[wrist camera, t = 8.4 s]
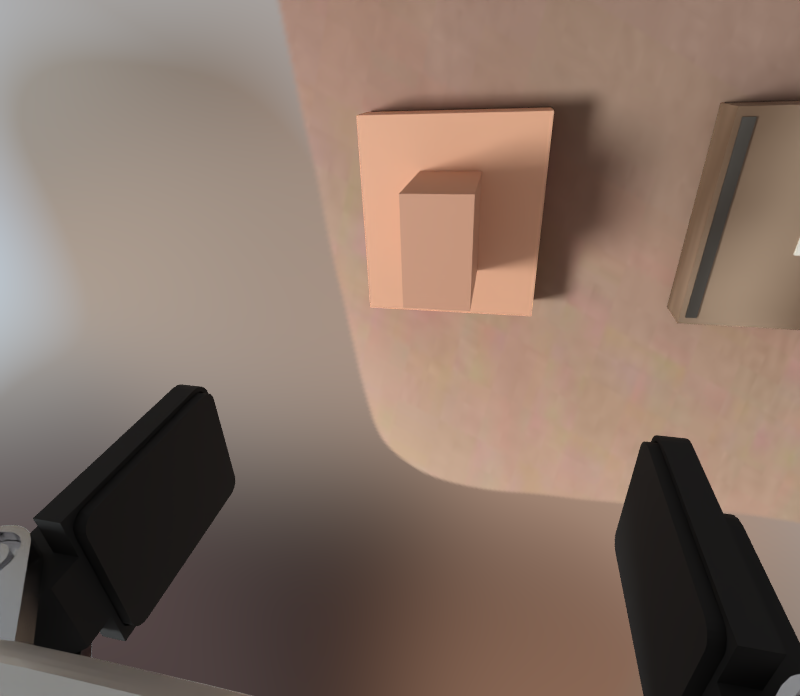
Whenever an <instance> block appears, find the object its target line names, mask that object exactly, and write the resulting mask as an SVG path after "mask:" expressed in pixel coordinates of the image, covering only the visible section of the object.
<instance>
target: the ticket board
mask: <svg viewBox="0 0 800 696" xmlns="http://www.w3.org/2000/svg"><path fill="white" fill-rule="evenodd" d="M667 307H668V309H669V311H670V312H671V314H672V315H673V317H674V319H675V320H676V322H677V323H680V324H698V325H716V326H735V327H753V328H771V329H790V330H800V101H780V102H740V103H721V104H720V108H719V112H718V116H717V119H716V123H715V127H714V131H713V135H712V138H711V142H710V146H709V150H708V154H707V157H706V161H705V165H704V169H703V173H702V176H701V180H700V184H699V188H698V192H697V195H696V199H695V203H694V207H693V211H692V214H691V218H690V222H689V226H688V230H687V233H686V237H685V241H684V245H683V249H682V252H681V256H680V260H679V264H678V268H677V271H676V275H675V279H674V283H673V287H672V290H671V294H670V298H669V302H668V306H667Z"/></svg>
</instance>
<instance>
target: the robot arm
mask: <svg viewBox="0 0 800 696" xmlns="http://www.w3.org/2000/svg"><path fill="white" fill-rule="evenodd" d="M234 485H235V476H234V472H233V468H232V464H231V461H230V457H229V453H228V450H227V446H226V442H225V439H224V435H223V431H222V428H221V424H220V421H219V417H218V413H217V409H216V406H215V402H214V399H213V397H212V396H211V394H208V392H207V390H206V389H205V388H203V387H199V386H190V385H177V386H176V387H174V388H173V389H172V390H171V391H170V392H169V393H167V394H166V395H165V396H164V397H163V398H162V399H161V400H160V401H159V402H158V403H157V404H156V405H155V406H154V407H152V408H151V409H150V410H149V411H148V412H147V413H146V414H145V415H144V416H143V417H142V418H141V419H140V420H138V421H137V422H136V423H135V424H134V425H133V426H132V427H131V428H130V429H129V430H128V431H127V432H126V433H125V434H123V435H122V436H121V437H120V438H119V439H118V440H117V441H116V442H115V443H114V444H113V445H112V446H110V447H109V448H108V449H107V450H106V451H105V452H104V453H103V454H102V455H101V456H100V457H99V458H97V459H96V460H95V461H94V462H93V463H92V464H91V465H90V466H89V467H88V468H87V469H86V470H85V471H84V472H82V473H81V474H80V475H79V476H78V477H77V478H76V479H75V480H74V481H73V482H72V483H71V484H70V485H68V486H67V487H66V488H65V489H64V490H63V491H62V492H61V493H60V494H59V495H58V496H57V497H56V498H54V499H53V500H52V501H51V502H50V503H49V504H48V505H47V506H46V507H45V508H44V509H43V510H42V511H40V512H39V513H38V514H37V515H36V516H35V517H34V518H33V519H34V521H35V522H36V524H37V525H38V526H37V527H36V528H35V529H34V530H33V531H32V532H31V533H29V531H28V530H27V529H26V528H24V527H21V526H18V525H5V526H0V696H251V695H247V694H243V693H239V692H235V691H230V690H226V689H222V688H218V687H214V686H210V685H206V684H201V683H197V682H193V681H188V680H184V679H180V678H176V677H172V676H167V675H163V674H159V673H155V672H150V671H146V670H142V669H138V668H133V667H129V666H125V665H121V664H117V663H112V662H108V661H104V660H99V659H95V658H92V641H93V640H94V639H95V637H96V636H97V635H98V633H99V632H101V634H102V636H105V637H109V638H113V639H118V640H122V641H126V640H127V638H128V637H129V635H130V634H131V633H132V631H133V630H134V628H135V627H136V626H139V625H141V624H142V623H143V622H145V620H146V619H147V618H148V616H149V615H150V613H151V612H152V610H153V609H154V607H155V606H156V604H157V603H158V602H159V600H160V598H161V597H162V596H163V594H164V593H165V591H166V590H167V588H168V587H169V585H170V584H171V582H172V581H173V579H174V578H175V576H176V575H177V573H178V572H179V570H180V569H181V567H182V566H183V565H184V563H185V562H186V560H187V558H188V557H189V556H190V554H191V553H192V551H193V550H194V548H195V547H196V545H197V544H198V542H199V541H200V539H201V538H202V536H203V535H204V533H205V532H206V531H207V529H208V527H209V526H210V525H211V523H212V522H213V520H214V519H215V517H216V516H217V514H218V513H219V511H220V510H221V508H222V507H223V505H224V504H225V502H226V501H227V499H228V498H229V496H230V495H231V493H232V492H233V489H234ZM615 551H616V557H617V562H618V567H619V572H620V578H621V583H622V587H623V593H624V598H625V602H626V608H627V613H628V618H629V623H630V628H631V634H632V639H633V644H634V649H635V654H636V659H637V664H638V669H639V675H640V679H641V684H642V690H643V694H644V696H800V643H799V641H798V639H797V636H796V635H795V632H794V630H793V628H792V626H791V624H790V622H789V620H788V618H787V616H786V614H785V612H784V610H783V607H782V605H781V603H780V601H779V599H778V597H777V595H776V593H775V591H774V589H773V587H772V585H771V583H770V581H769V579H768V576H767V574H766V572H765V570H764V568H763V566H762V564H761V562H760V560H759V558H758V556H757V554H756V552H755V550H754V548H753V545H752V544H751V541H750V539H749V537H748V535H747V533H746V531H745V529H744V527H743V525H742V524H741V522H740V521H739V519H738V518H737V517H735V516H734V515H731V514H723V512H722V510H721V508H720V505H719V503H718V501H717V499H716V497H715V494H714V492H713V490H712V488H711V486H710V483H709V481H708V479H707V477H706V475H705V472H704V470H703V468H702V466H701V464H700V461H699V459H698V457H697V455H696V452H695V450H694V448H693V446H692V444H691V442H690V441H689V440H688V439H685V438H676V437H667V436H657V435H656V436H654V437H653V438H652V441H651V442H643V443H642V444H641V447H640V450H639V454H638V457H637V461H636V464H635V468H634V471H633V475H632V478H631V482H630V485H629V489H628V492H627V496H626V499H625V503H624V506H623V510H622V513H621V516H620V520H619V523H618V527H617V530H616V535H615Z"/></svg>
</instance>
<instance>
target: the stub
mask: <svg viewBox="0 0 800 696" xmlns="http://www.w3.org/2000/svg"><path fill="white" fill-rule="evenodd" d="M553 116H554V110H553V109H552V108H551V107H549V108H509V109H469V110H429V111H390V112H366V113H363V114H359V115H356V118H357V132H358V145H359V159H360V173H361V186H362V200H363V214H364V227H365V241H366V255H367V268H368V282H369V296H370V307H372V308H390V309H408V310H426V311H445V312H463V313H481V314H500V315H518V316H531V315H532V306H533V297H534V288H535V279H536V270H537V261H538V252H539V243H540V234H541V225H542V216H543V207H544V198H545V189H546V180H547V170H548V161H549V152H550V143H551V134H552V125H553Z"/></svg>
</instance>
